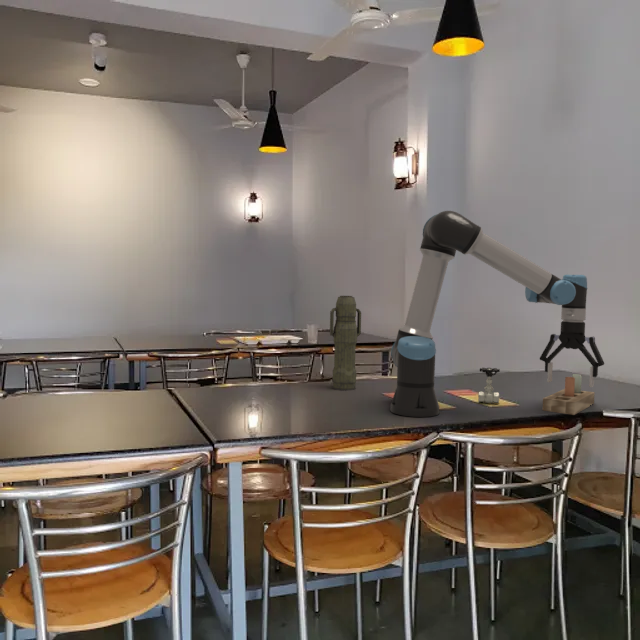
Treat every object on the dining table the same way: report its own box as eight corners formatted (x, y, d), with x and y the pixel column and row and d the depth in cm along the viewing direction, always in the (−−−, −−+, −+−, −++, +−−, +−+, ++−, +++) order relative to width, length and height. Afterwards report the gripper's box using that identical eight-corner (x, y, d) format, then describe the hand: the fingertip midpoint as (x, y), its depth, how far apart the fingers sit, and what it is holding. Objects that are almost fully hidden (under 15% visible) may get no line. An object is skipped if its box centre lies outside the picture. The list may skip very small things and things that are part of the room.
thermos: (363, 389, 239) (365, 296, 237) (334, 391, 235) (336, 296, 232) (353, 385, 247) (355, 295, 245) (325, 387, 243) (327, 295, 240)
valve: (499, 406, 213) (500, 370, 212) (478, 405, 215) (480, 369, 214) (497, 402, 220) (498, 367, 219) (478, 401, 221) (479, 367, 220)
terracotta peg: (565, 405, 216) (567, 376, 215) (574, 406, 214) (576, 377, 213) (562, 407, 214) (564, 377, 213) (571, 408, 212) (573, 378, 211)
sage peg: (570, 403, 220) (571, 374, 219) (572, 402, 222) (573, 373, 222) (579, 404, 218) (580, 375, 217) (581, 403, 220) (582, 374, 220)
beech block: (542, 410, 207) (542, 398, 207) (564, 399, 226) (564, 388, 226) (574, 414, 201) (574, 402, 201) (594, 403, 220) (594, 392, 220)
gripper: (531, 319, 216) (529, 381, 218) (610, 323, 201) (607, 390, 203) (539, 318, 222) (536, 378, 224) (616, 322, 207) (612, 387, 209)
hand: (570, 384), depth 213 cm, fingers open, 13 cm apart
